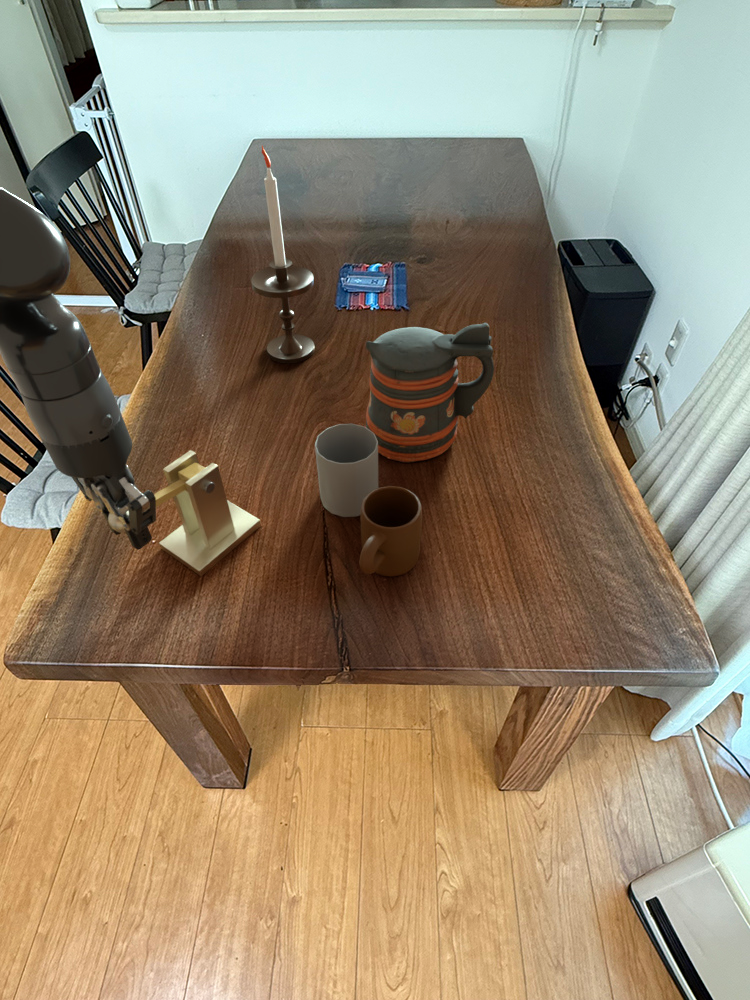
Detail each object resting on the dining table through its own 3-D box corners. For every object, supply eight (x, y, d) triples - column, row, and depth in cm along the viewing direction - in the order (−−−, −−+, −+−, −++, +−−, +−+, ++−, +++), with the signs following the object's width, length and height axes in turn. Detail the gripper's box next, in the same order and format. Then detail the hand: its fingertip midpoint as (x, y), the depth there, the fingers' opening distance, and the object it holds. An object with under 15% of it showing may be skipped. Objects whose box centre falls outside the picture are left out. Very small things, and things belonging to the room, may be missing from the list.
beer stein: (477, 406, 102) (493, 295, 88) (487, 464, 91) (507, 348, 77) (366, 406, 102) (363, 295, 88) (364, 463, 92) (361, 348, 77)
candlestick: (251, 356, 114) (214, 150, 89) (285, 331, 120) (259, 132, 95) (297, 372, 110) (273, 161, 85) (330, 345, 116) (316, 141, 91)
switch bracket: (201, 576, 77) (176, 507, 68) (160, 548, 80) (132, 479, 71) (261, 525, 83) (246, 455, 74) (221, 501, 86) (202, 432, 77)
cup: (328, 473, 90) (323, 420, 83) (381, 479, 89) (381, 426, 82) (315, 513, 84) (308, 460, 77) (372, 520, 83) (371, 467, 76)
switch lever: (123, 542, 66) (117, 521, 64) (105, 530, 68) (99, 508, 66) (212, 488, 75) (210, 467, 73) (195, 478, 76) (192, 457, 74)
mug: (393, 613, 72) (394, 565, 66) (337, 593, 75) (332, 544, 68) (427, 544, 80) (431, 494, 73) (375, 527, 82) (375, 478, 76)
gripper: (2, 411, 58) (69, 529, 70) (88, 468, 52) (145, 587, 64) (70, 375, 62) (122, 493, 74) (157, 425, 56) (198, 544, 68)
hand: (132, 536), depth 69 cm, fingers closed on switch lever, 3 cm apart
